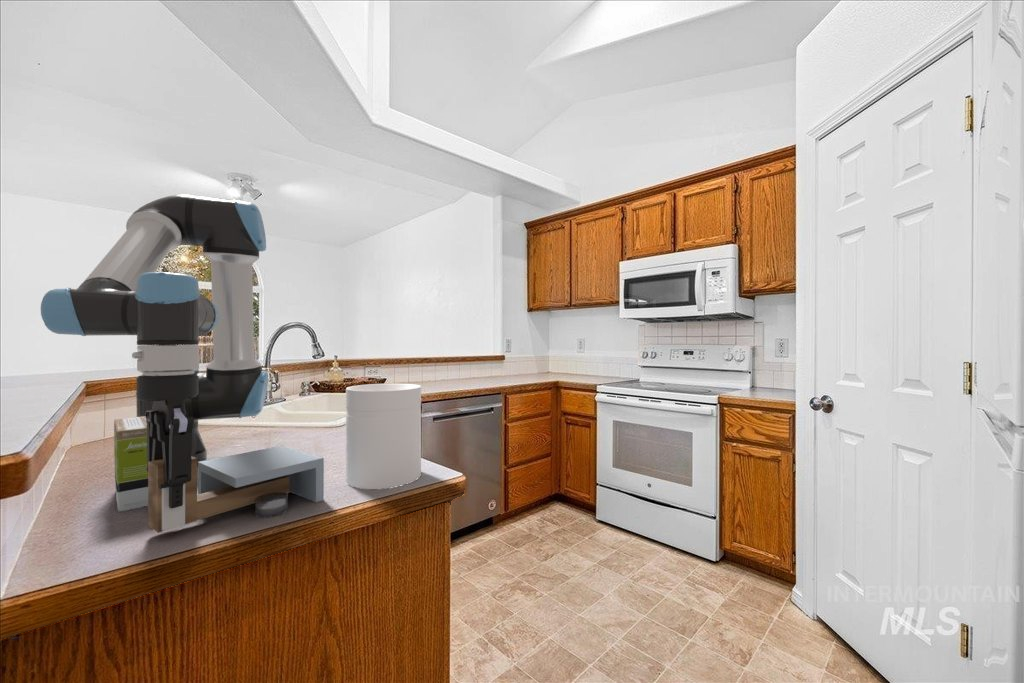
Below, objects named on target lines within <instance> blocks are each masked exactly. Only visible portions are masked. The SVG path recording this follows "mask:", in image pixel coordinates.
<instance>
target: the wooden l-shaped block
mask: <svg viewBox="0 0 1024 683" xmlns="http://www.w3.org/2000/svg"><path fill="white" fill-rule="evenodd" d="M191 476H192V478H191V481H189V482H186V483H185V525H189V524H191V523H195V522H197V521H199V520H203V519H206V518H210V517H213V516H216V515H219V514H223V513H225V512H229V511H233V510H235V509H239V508H243V507H246V506H249V505H253V504H255V499H256V498H257V497H259V496H262V495H265V494H269V493H275V492H283V493H287V494H289V493H291V492H290V486H289V476H286V475H285V476H281V477H277V478H273V479H269V480H265V481H261V482H257V483H253V484H249V485H245V486H241V487H237V488H235V487H233V486H229V487H225V488H221V489H217V490H213V491H210V492H206V493H202V494H198V465H197V458H195V457H192V461H191ZM161 484H164V467H163V459H160V460H155V461H149V462H148V506H147V507H148V508H147V510H148V511H147V513H148V514H147V516H148V517H147V519H148V520H147V522H148V523H147V524H148V525H147V526H148V528H151V529H152V530H153V531H154V532H156V533H157V534H159V533H162V532H163V531H162V489H159V487H158V485H161Z"/></svg>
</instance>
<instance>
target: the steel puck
mask: <svg viewBox="0 0 1024 683" xmlns="http://www.w3.org/2000/svg"><path fill="white" fill-rule="evenodd" d="M288 503H289V493H283V492H275V493H269V494H265V495H262V496H259V497H257V498H256V499H255V503H254V505H255V507H254V509H255V510H254V511H255V512H254V513H255V516H256V517H257V516H258V517H259V518H271V517H270V516H272V517H276V515H277V516H280V515H282V514H284V513H286V512H287V511H288V510H289V504H288Z"/></svg>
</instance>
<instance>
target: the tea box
mask: <svg viewBox="0 0 1024 683" xmlns="http://www.w3.org/2000/svg"><path fill="white" fill-rule="evenodd" d="M113 422H114V423H113V425H114V426H113V433H114V434H113V440H114V441H113V446H114V447H113V449H114V450H113V451H114V481H115V499H116V507H117V508H116V509H117V511H118V512H119V513H121V511H122V512H125V511H126V510H127V511H131V509H132V510H136V509H135V508H137V509H140V508H139V507H142V508H144V507H143V506H146V507H148V472H147V423H146V417H145V416H142V417H137V416H136V417H127V418H117V419H114V421H113Z"/></svg>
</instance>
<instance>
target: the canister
mask: <svg viewBox="0 0 1024 683" xmlns="http://www.w3.org/2000/svg"><path fill="white" fill-rule="evenodd" d="M421 406H422V385H420V384H415V383H399V382H398V383H396V382H395V383H369V384H360V385H352V386H347V387H346V388H345V408H346V410H345V411H346V412H345V483H346V484H347V486H349V485H350V486H349V487H352V488H354V487H356V488H355V489H359V488H361V489H360V490H370V489H377V490H383V489H382V488H389V489H392V488H391V487H395V486H400V485H404V484H407V483H410V482H412V481H414V480H416V479H417V478H419V477H420V476H421V477H422V409H421V408H422V407H421ZM421 477H420V478H421ZM420 478H419V479H420ZM407 485H408V484H407ZM404 486H405V485H404ZM395 488H396V487H395Z"/></svg>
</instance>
